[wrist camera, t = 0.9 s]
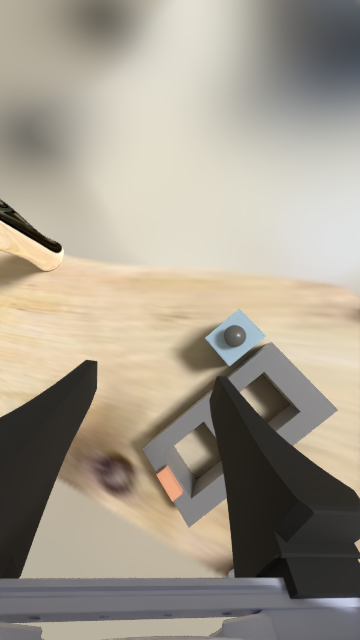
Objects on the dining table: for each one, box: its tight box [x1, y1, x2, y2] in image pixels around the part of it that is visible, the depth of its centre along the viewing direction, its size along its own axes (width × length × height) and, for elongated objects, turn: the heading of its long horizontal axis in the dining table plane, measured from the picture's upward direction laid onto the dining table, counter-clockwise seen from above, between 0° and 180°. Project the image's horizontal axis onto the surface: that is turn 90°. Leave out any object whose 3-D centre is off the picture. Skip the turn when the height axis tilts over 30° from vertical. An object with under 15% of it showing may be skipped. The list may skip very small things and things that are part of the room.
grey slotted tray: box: [142, 342, 338, 527], centre depth 23 cm, size 9×20×4 cm, turn 129°
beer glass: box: [0, 199, 64, 271], centre depth 30 cm, size 7×7×15 cm
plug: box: [205, 309, 265, 366], centre depth 23 cm, size 4×5×7 cm
